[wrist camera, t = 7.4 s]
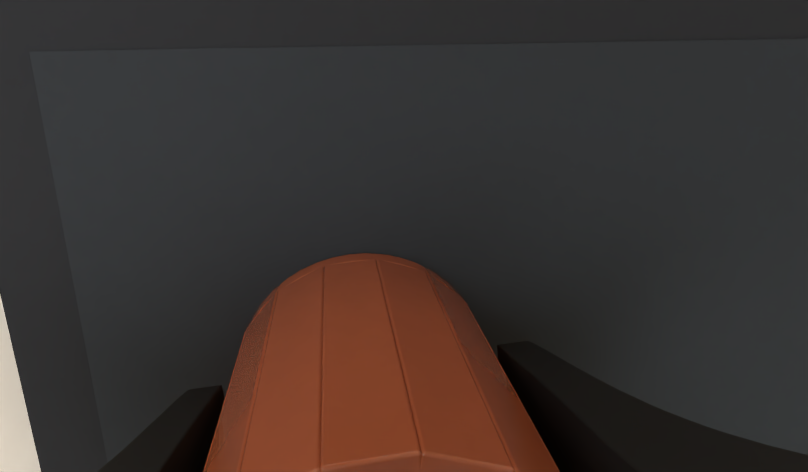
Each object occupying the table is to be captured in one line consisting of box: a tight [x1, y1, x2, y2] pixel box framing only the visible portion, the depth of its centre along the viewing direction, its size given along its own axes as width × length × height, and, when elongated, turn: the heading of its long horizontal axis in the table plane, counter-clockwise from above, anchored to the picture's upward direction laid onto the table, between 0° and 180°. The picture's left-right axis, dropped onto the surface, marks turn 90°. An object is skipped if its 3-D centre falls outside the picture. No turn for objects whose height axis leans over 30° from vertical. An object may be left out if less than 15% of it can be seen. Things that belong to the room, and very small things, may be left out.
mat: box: [0, 0, 808, 472], centre depth 13 cm, size 20×14×1 cm
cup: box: [203, 253, 560, 472], centre depth 10 cm, size 5×5×6 cm
